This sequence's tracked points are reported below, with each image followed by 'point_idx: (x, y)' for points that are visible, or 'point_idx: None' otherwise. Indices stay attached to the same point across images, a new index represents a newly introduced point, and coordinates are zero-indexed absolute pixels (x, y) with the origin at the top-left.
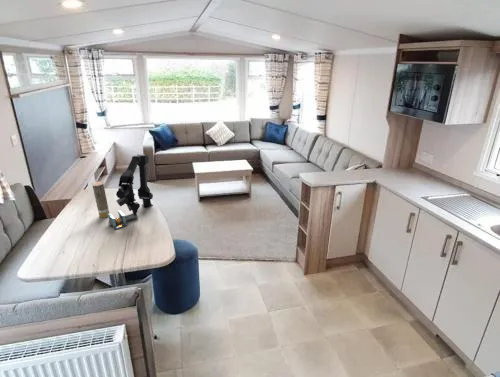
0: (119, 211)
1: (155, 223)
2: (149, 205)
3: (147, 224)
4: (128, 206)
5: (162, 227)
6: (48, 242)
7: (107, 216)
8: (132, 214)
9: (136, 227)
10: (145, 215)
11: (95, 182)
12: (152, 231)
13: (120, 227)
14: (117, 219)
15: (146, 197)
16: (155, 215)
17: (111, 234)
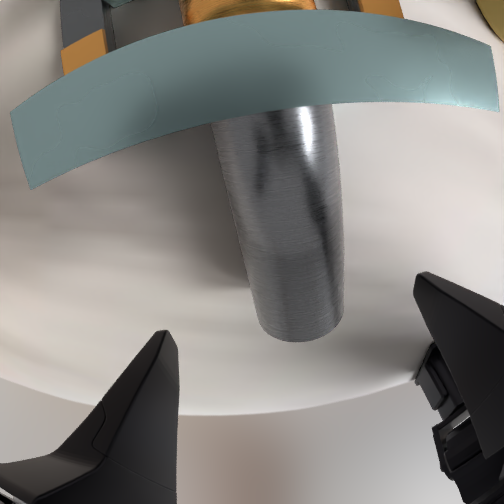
0: (439, 46)
1: (109, 386)
2: (421, 380)
3: (98, 346)
4: (481, 333)
5: (57, 392)
6: None
7: (480, 8)
8: (292, 292)
9: (50, 254)
10: (303, 354)
11: None
12: (8, 342)
13: (69, 61)
14: None
15: (450, 443)
16: (253, 404)
17: (12, 3)
